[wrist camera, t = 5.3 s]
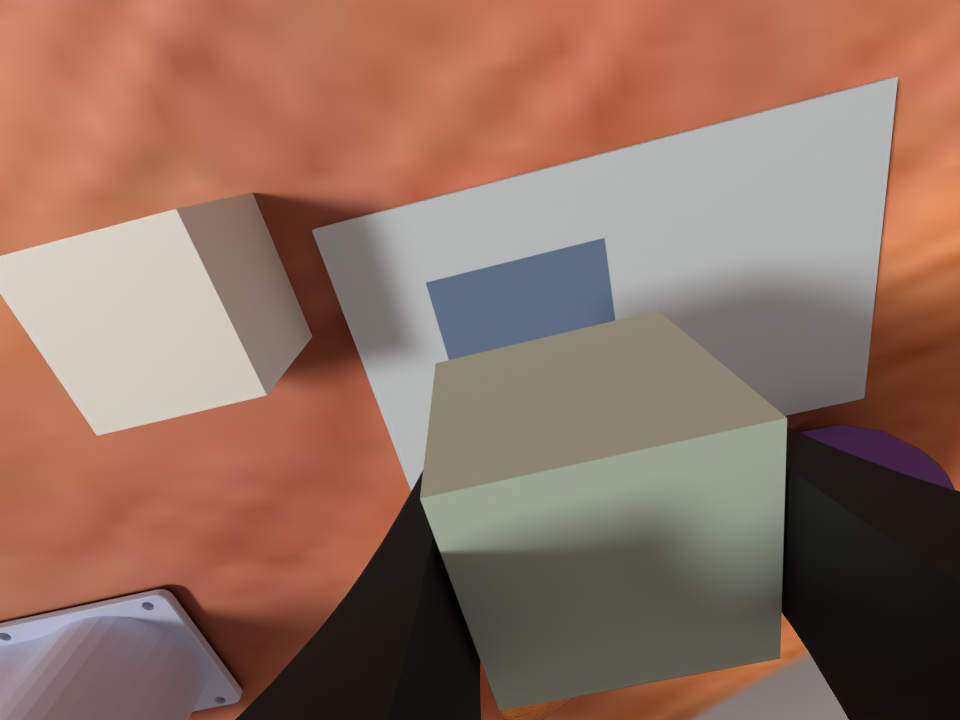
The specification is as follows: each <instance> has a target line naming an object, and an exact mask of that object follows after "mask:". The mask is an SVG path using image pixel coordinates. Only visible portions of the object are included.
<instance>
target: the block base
mask: <svg viewBox="0 0 960 720" xmlns="http://www.w3.org/2000/svg"><path fill="white" fill-rule="evenodd" d="M786 442H787V417H785V416H784V415H783V414H782V413H781V412H779V411H778V410H777V409H776V408H775V407H773V406H772V405H771V404H770V403H769V402H767V401H766V400H765V399H764V398H763V397H761V396H760V395H759V394H758V393H757V392H755V391H754V390H753V389H752V388H751V387H749V386H748V385H747V384H746V383H745V382H743V381H742V380H741V379H740V378H739V377H737V376H736V375H735V374H734V373H733V372H731V371H730V370H729V369H728V368H727V367H725V366H724V365H723V364H722V363H721V362H719V361H718V360H717V359H716V358H714V357H713V356H712V355H711V354H710V353H708V352H707V351H706V350H705V349H704V348H702V347H701V346H700V345H699V344H698V343H696V342H695V341H694V340H693V339H692V338H690V337H689V336H688V335H687V334H686V333H684V332H683V331H682V330H681V329H680V328H678V327H677V326H676V325H675V324H674V323H672V322H671V321H670V320H669V319H668V318H666V317H665V316H664V315H663V314H662V313H660V312H659V311H654V312H650V313H645V314H641V315H637V316H633V317H628V318H624V319H620V320H616V321H612V322H607V323H603V324H599V325H595V326H591V327H586V328H582V329H578V330H574V331H570V332H565V333H561V334H557V335H553V336H548V337H544V338H540V339H536V340H532V341H527V342H523V343H519V344H515V345H511V346H506V347H502V348H498V349H494V350H490V351H485V352H481V353H477V354H473V355H468V356H464V357H460V358H456V359H452V360H447V361H443V362H439V363H436V365H435V374H434V382H433V391H432V400H431V408H430V417H429V425H428V434H427V442H426V451H425V459H424V468H423V476H422V485H421V494H420V500H421V503H422V505H423V508H424V511H425V513H426V516H427V519H428V521H429V524H430V527H431V529H432V532H433V535H434V537H435V540H436V543H437V545H438V548H439V551H440V553H441V556H442V559H443V561H444V564H445V567H446V569H447V572H448V575H449V578H450V580H451V583H452V586H453V588H454V591H455V594H456V596H457V599H458V602H459V604H460V607H461V610H462V612H463V615H464V618H465V620H466V623H467V626H468V628H469V631H470V634H471V636H472V639H473V642H474V644H475V647H476V650H477V652H478V655H479V658H480V660H481V663H482V666H483V668H484V671H485V674H486V676H487V679H488V682H489V684H490V687H491V690H492V692H493V695H494V698H495V700H496V703H497V706H498V709H499V711H503V710H508V709H513V708H519V707H524V706H529V705H535V704H540V703H545V702H551V701H556V700H561V699H567V698H572V697H577V696H583V695H588V694H593V693H599V692H604V691H609V690H615V689H620V688H625V687H631V686H636V685H641V684H647V683H652V682H657V681H663V680H668V679H673V678H679V677H684V676H689V675H695V674H700V673H705V672H711V671H716V670H721V669H727V668H732V667H737V666H743V665H748V664H753V663H759V662H764V661H769V660H775V659H780V645H781V611H782V577H783V543H784V510H785V476H786Z"/></svg>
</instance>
